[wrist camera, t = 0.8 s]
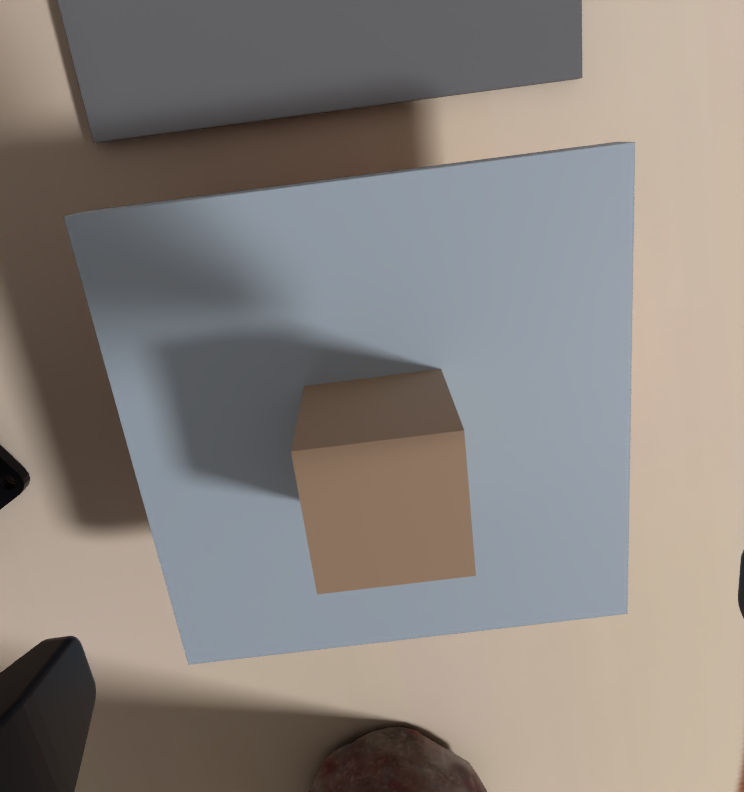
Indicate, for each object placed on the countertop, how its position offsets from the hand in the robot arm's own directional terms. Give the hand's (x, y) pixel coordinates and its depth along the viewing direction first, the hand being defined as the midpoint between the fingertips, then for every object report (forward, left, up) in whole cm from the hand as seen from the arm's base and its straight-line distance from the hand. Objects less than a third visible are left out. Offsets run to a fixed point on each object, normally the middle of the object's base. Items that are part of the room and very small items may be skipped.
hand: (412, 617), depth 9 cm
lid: (-1, -1, -8) cm, 8 cm away
